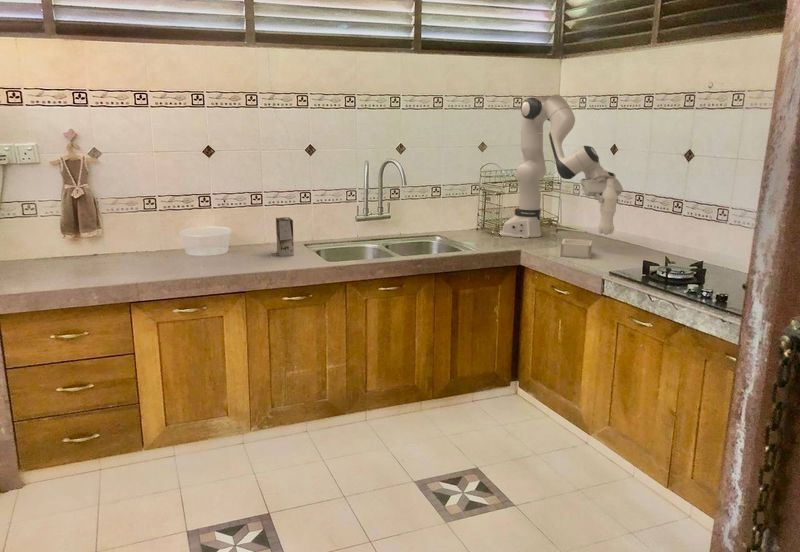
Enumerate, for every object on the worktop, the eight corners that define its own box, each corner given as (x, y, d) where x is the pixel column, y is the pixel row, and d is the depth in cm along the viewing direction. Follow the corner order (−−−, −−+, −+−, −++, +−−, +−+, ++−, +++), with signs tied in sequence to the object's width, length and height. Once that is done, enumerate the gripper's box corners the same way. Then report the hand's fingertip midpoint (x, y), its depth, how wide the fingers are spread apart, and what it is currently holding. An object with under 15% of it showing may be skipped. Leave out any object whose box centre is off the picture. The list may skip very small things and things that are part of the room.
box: (560, 256, 292) (561, 243, 291) (562, 250, 304) (563, 238, 303) (589, 258, 288) (590, 245, 287) (591, 253, 300) (592, 240, 299)
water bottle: (613, 232, 300) (618, 179, 294) (613, 235, 294) (619, 180, 287) (597, 231, 302) (602, 178, 296) (597, 234, 295) (602, 179, 289)
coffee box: (294, 255, 288) (293, 220, 284) (280, 256, 286) (278, 220, 282) (290, 251, 296) (289, 216, 292) (276, 252, 294) (275, 217, 290)
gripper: (582, 174, 293) (595, 198, 287) (617, 173, 301) (630, 196, 295) (575, 183, 298) (587, 207, 292) (610, 182, 306) (622, 205, 300)
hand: (609, 201), depth 294 cm, fingers closed on water bottle, 7 cm apart
